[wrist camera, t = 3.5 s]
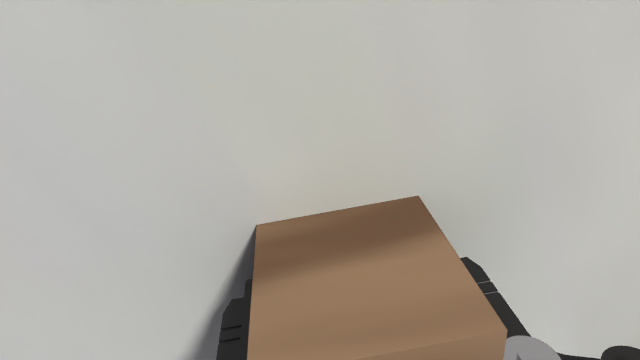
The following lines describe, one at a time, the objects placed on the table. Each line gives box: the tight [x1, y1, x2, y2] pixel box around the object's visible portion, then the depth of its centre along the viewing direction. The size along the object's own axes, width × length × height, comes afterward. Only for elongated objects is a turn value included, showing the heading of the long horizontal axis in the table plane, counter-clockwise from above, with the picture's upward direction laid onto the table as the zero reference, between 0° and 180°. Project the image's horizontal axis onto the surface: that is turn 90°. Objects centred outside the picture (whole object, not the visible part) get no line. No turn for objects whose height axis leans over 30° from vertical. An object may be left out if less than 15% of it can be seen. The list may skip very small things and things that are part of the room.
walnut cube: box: [247, 196, 508, 360], centre depth 10 cm, size 5×5×5 cm
